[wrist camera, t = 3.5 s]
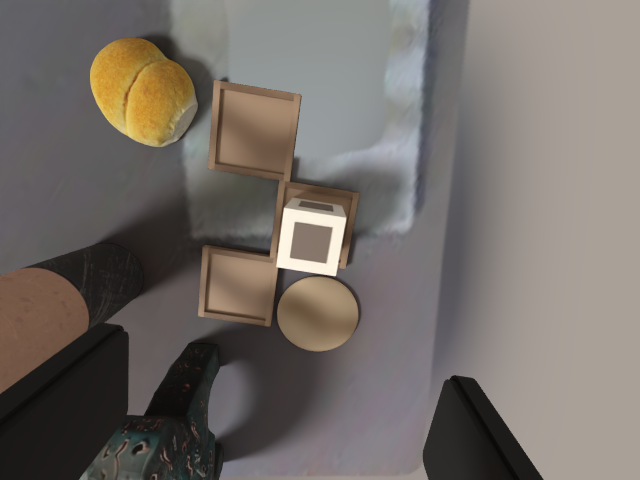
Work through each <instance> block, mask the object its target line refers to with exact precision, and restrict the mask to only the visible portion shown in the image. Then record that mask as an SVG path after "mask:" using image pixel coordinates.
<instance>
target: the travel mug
mask: <svg viewBox="0 0 640 480" xmlns="http://www.w3.org/2000/svg"><path fill="white" fill-rule="evenodd" d="M142 285H143V272H142V268H141V266H140V264H139V262H138V261H137V259H136V258H135V257H134V256H133V255H132V254H131V253H130V252H129V251H127V250H126V249H124V248H122V247H120V246H118V245H114V244H108V243H102V244H96V245H93V246H89V247H86V248H83V249H80V250H77V251H74V252H71V253H68V254H65V255H61V256H58V257H55V258H52V259H49V260H46V261H43V262H40V263H37V264H34V265H31V266H28V267H25V268H21V269H19V270H16V271H13V272H10V273H7V274H5V275H2V276H0V394H1V393H2V392H3V391H5V390H6V389H8V388H9V387H10V386H12V385H13V384H14V383H16V382H17V381H19V380H20V379H21V378H23V377H24V376H25V375H27V374H28V373H30V372H31V371H32V370H34V369H35V368H37V367H38V366H39V365H41V364H42V363H43V362H45V361H46V360H48V359H49V358H50V357H52V356H53V355H54V354H56V353H57V352H59V351H60V350H61V349H63V348H64V347H66V346H67V345H68V344H70V343H71V342H72V341H74V340H75V339H77V338H78V337H79V336H81V335H82V334H83V333H85V332H86V331H88V330H89V329H90V328H92V327H93V326H94V325H96V324H98V323H104V322H106V321H107V320H108V319H109V318H111V317H112V316H113V315H114V314H116V313H117V312H118V311H119V310H121V309H122V308H123V307H124V306H126V305H127V304H128V303H129V302H130V301H132V300H133V299H134V298H135V297H136V296H137V295H138V293H139V292H140V290H141V288H142Z"/></svg>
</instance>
